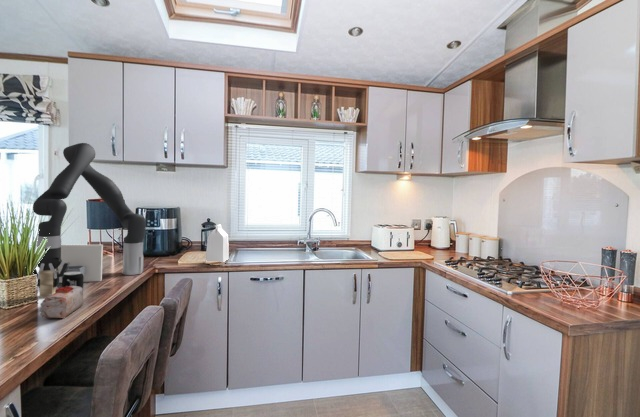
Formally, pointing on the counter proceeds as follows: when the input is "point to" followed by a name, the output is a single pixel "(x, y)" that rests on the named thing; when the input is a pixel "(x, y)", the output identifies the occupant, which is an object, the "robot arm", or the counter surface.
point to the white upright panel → (83, 260)
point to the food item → (62, 302)
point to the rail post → (46, 283)
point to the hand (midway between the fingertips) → (48, 286)
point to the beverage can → (73, 279)
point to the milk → (218, 245)
